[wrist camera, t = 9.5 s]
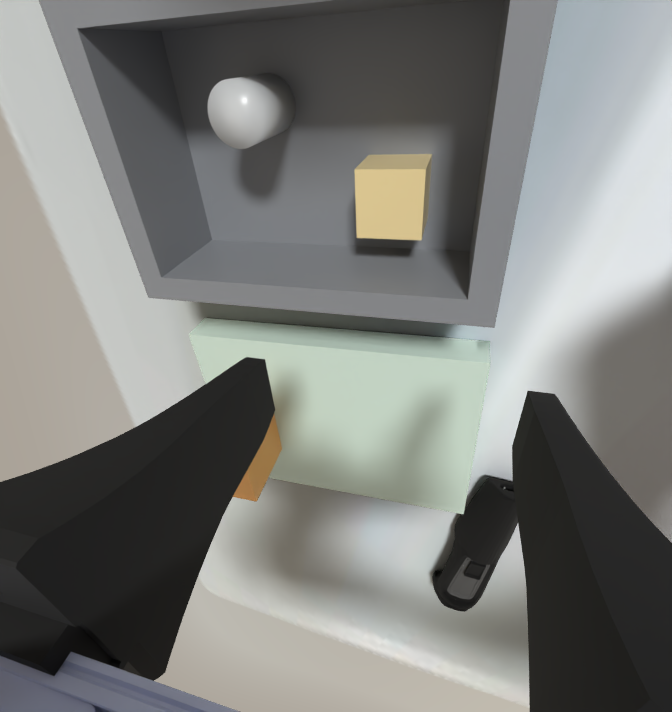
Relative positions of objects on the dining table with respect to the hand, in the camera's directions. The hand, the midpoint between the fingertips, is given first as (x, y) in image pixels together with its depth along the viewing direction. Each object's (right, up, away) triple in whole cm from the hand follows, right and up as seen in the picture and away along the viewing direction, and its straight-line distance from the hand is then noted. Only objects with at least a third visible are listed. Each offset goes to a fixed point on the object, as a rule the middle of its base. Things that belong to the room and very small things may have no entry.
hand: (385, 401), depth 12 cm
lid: (-1, -2, +14) cm, 14 cm away
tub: (-2, +10, +5) cm, 11 cm away
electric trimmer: (+9, -11, +19) cm, 23 cm away
